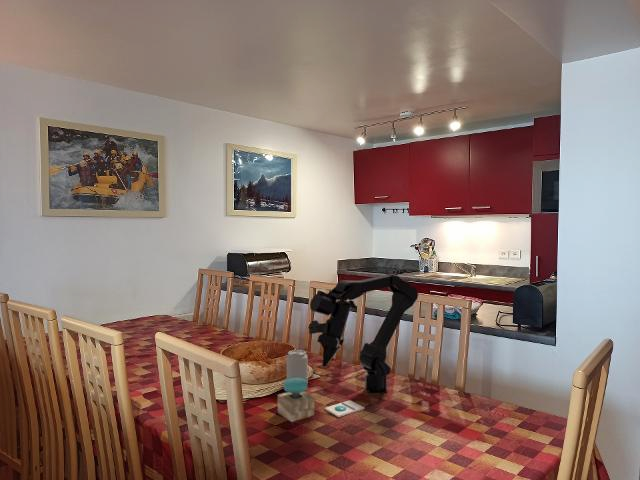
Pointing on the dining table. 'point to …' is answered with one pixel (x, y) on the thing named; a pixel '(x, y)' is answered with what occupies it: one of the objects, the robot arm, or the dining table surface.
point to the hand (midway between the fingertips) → (324, 365)
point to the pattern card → (344, 408)
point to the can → (297, 364)
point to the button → (295, 386)
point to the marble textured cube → (295, 406)
